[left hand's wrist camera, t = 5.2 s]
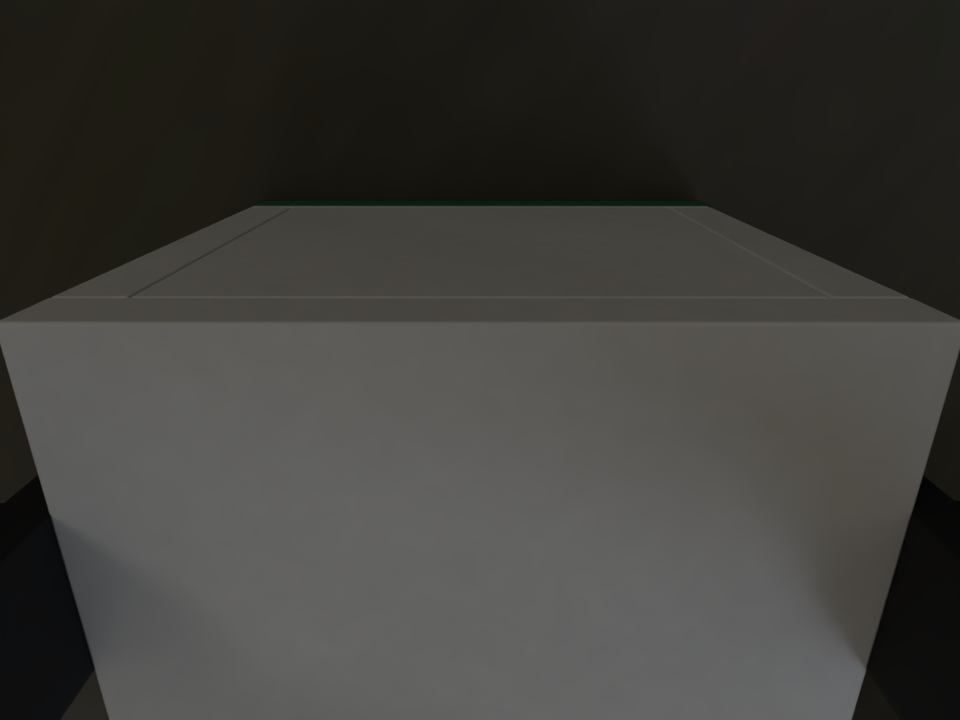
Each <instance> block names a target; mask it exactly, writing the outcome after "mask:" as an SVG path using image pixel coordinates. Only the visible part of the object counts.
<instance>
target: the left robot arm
mask: <svg viewBox="0 0 960 720" xmlns="http://www.w3.org/2000/svg"><path fill="white" fill-rule="evenodd" d="M866 670H867V671H868V673H869V674H870V676H871V677H872V679H873V680H874V682H875V683H876V684H877V686H878V687H879V689H880V690H881V692H882V693H883V695H884V696H885V698H886V699H887V701H888V702H889V704H890V705H891V706H892V708H893V709H894V711H895V712H896V714H897V715H898V717H899V718H900V720H960V501H953V500H952V499H951V498H950V497H948V496H947V495H946V494H945V493H944V492H942V491H941V490H940V489H939V488H938V487H936V486H935V485H934V484H933V483H932V482H930V481H929V480H928V479H927V478H926V477H924V476H923V477H922V481H921V484H920V487H919V491H918V494H917V498H916V501H915V504H914V508H913V511H912V515H911V518H910V522H909V525H908V528H907V532H906V535H905V539H904V542H903V546H902V549H901V552H900V556H899V559H898V563H897V566H896V570H895V573H894V576H893V580H892V583H891V587H890V590H889V594H888V597H887V600H886V604H885V607H884V611H883V614H882V618H881V621H880V624H879V628H878V631H877V635H876V638H875V641H874V645H873V648H872V652H871V655H870V659H869V662H868V665H867V669H866ZM93 671H94V665H93V662H92V658H91V655H90V651H89V648H88V645H87V641H86V638H85V634H84V631H83V627H82V624H81V620H80V617H79V613H78V610H77V607H76V603H75V600H74V596H73V593H72V589H71V586H70V582H69V579H68V576H67V572H66V569H65V565H64V562H63V558H62V555H61V551H60V548H59V545H58V541H57V538H56V534H55V531H54V527H53V524H52V520H51V517H50V514H49V510H48V507H47V503H46V500H45V496H44V493H43V489H42V486H41V483H40V479H39V476H38V475H37V476H36V477H35V478H34V479H33V480H32V481H30V482H29V483H28V484H27V485H26V486H24V487H23V488H22V489H21V490H20V491H18V492H17V493H16V494H15V495H14V496H12V497H11V498H10V499H9V500H8V501H6V502H5V503H0V720H60V719H61V718H62V716H63V715H64V713H65V712H66V710H67V709H68V707H69V706H70V705H71V703H72V702H73V700H74V699H75V697H76V696H77V694H78V693H79V691H80V690H81V688H82V687H83V686H84V684H85V683H86V681H87V680H88V678H89V677H90V675H91V674H92V672H93Z"/></svg>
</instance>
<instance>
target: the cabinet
mask: <svg viewBox="0 0 960 720" xmlns="http://www.w3.org/2000/svg"><path fill="white" fill-rule="evenodd" d="M0 345H1V348H2V352H3V355H4V358H5V362H6V365H7V369H8V372H9V376H10V379H11V383H12V386H13V389H14V393H15V396H16V400H17V403H18V407H19V410H20V414H21V417H22V421H23V424H24V427H25V431H26V434H27V438H28V441H29V445H30V448H31V452H32V455H33V458H34V462H35V465H36V469H37V472H38V476H39V479H40V483H41V486H42V489H43V493H44V496H45V500H46V503H47V507H48V510H49V514H50V517H51V520H52V524H53V527H54V531H55V534H56V538H57V541H58V545H59V548H60V551H61V555H62V558H63V562H64V565H65V569H66V572H67V576H68V579H69V582H70V586H71V589H72V593H73V596H74V600H75V603H76V607H77V610H78V613H79V617H80V620H81V624H82V627H83V631H84V634H85V638H86V641H87V645H88V648H89V651H90V655H91V658H92V662H93V665H94V669H95V672H96V676H97V679H98V682H99V686H100V689H101V693H102V696H103V700H104V703H105V707H106V710H107V713H108V717H109V720H852V717H853V713H854V710H855V707H856V703H857V700H858V696H859V693H860V689H861V686H862V683H863V679H864V676H865V672H866V669H867V665H868V662H869V659H870V655H871V652H872V648H873V645H874V641H875V638H876V635H877V631H878V628H879V624H880V621H881V618H882V614H883V611H884V607H885V604H886V600H887V597H888V594H889V590H890V587H891V583H892V580H893V576H894V573H895V570H896V566H897V563H898V559H899V556H900V552H901V549H902V546H903V542H904V539H905V535H906V532H907V528H908V525H909V522H910V518H911V515H912V511H913V508H914V504H915V501H916V498H917V494H918V491H919V487H920V484H921V481H922V477H923V474H924V470H925V467H926V463H927V460H928V457H929V453H930V450H931V446H932V443H933V439H934V436H935V433H936V429H937V426H938V422H939V419H940V415H941V412H942V409H943V405H944V402H945V398H946V395H947V391H948V388H949V385H950V381H951V378H952V374H953V371H954V367H955V364H956V361H957V357H958V354H959V350H960V320H958V319H956V318H954V317H952V316H950V315H947V314H945V313H943V312H941V311H939V310H936V309H934V308H932V307H930V306H927V305H925V304H923V303H921V302H919V301H916V300H914V299H912V298H909V297H907V296H905V295H903V294H900V293H898V292H896V291H894V290H892V289H889V288H887V287H885V286H883V285H881V284H878V283H876V282H874V281H872V280H870V279H867V278H865V277H863V276H861V275H858V274H856V273H854V272H852V271H850V270H847V269H845V268H843V267H841V266H839V265H836V264H834V263H832V262H830V261H828V260H825V259H823V258H821V257H819V256H816V255H814V254H812V253H810V252H808V251H805V250H803V249H801V248H799V247H797V246H794V245H792V244H790V243H788V242H786V241H783V240H781V239H779V238H777V237H774V236H772V235H770V234H768V233H766V232H763V231H761V230H759V229H757V228H755V227H752V226H750V225H748V224H746V223H744V222H741V221H739V220H737V219H735V218H732V217H730V216H728V215H726V214H724V213H721V212H719V211H717V210H715V209H713V208H710V206H709V205H707V204H705V203H702V202H700V201H260V202H258V203H256V204H254V205H251V207H250V208H248V209H246V210H244V211H241V212H239V213H237V214H235V215H232V216H230V217H228V218H226V219H224V220H221V221H219V222H217V223H215V224H213V225H210V226H208V227H206V228H204V229H201V230H199V231H197V232H195V233H193V234H190V235H188V236H186V237H184V238H182V239H179V240H177V241H175V242H173V243H170V244H168V245H166V246H164V247H162V248H159V249H157V250H155V251H153V252H151V253H148V254H146V255H144V256H142V257H140V258H137V259H135V260H133V261H131V262H128V263H126V264H124V265H122V266H120V267H117V268H115V269H113V270H111V271H109V272H106V273H104V274H102V275H100V276H97V277H95V278H93V279H91V280H89V281H86V282H84V283H82V284H80V285H78V286H75V287H73V288H71V289H69V290H66V291H64V292H62V293H60V294H58V295H55V296H53V297H52V298H48V299H46V300H44V301H42V302H40V303H37V304H35V305H33V306H31V307H29V308H26V309H24V310H22V311H20V312H17V313H15V314H13V315H11V316H9V317H6V318H4V319H2V320H0Z"/></svg>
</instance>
